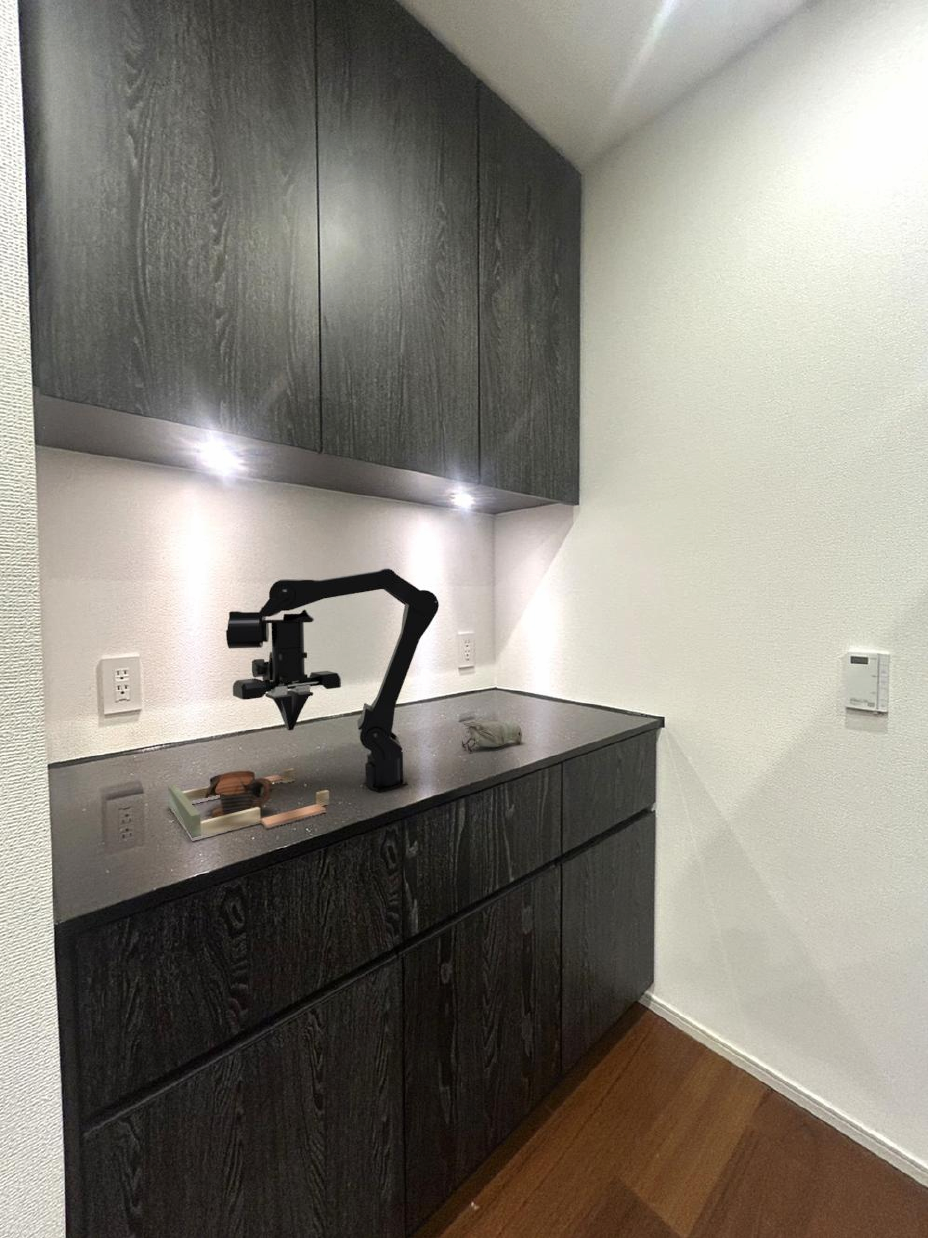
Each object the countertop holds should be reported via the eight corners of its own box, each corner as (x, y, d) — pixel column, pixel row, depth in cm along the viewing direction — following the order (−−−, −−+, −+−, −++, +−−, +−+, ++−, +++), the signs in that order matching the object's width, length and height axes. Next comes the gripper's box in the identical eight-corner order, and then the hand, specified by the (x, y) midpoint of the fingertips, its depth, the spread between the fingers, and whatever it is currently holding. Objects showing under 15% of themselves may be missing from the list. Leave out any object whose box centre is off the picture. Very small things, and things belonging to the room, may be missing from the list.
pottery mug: (193, 829, 88) (192, 778, 92) (225, 832, 97) (223, 785, 100) (263, 811, 88) (260, 760, 91) (289, 815, 96) (285, 768, 100)
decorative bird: (526, 746, 133) (526, 716, 132) (469, 756, 125) (468, 724, 125) (514, 741, 138) (514, 712, 137) (458, 750, 130) (457, 719, 130)
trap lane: (286, 776, 112) (286, 757, 112) (336, 810, 94) (336, 787, 94) (165, 803, 98) (165, 781, 98) (197, 849, 80) (196, 822, 80)
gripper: (316, 641, 113) (317, 715, 114) (222, 647, 101) (224, 730, 102) (341, 644, 105) (342, 724, 106) (242, 652, 93) (244, 742, 94)
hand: (290, 729), depth 102 cm, fingers closed
